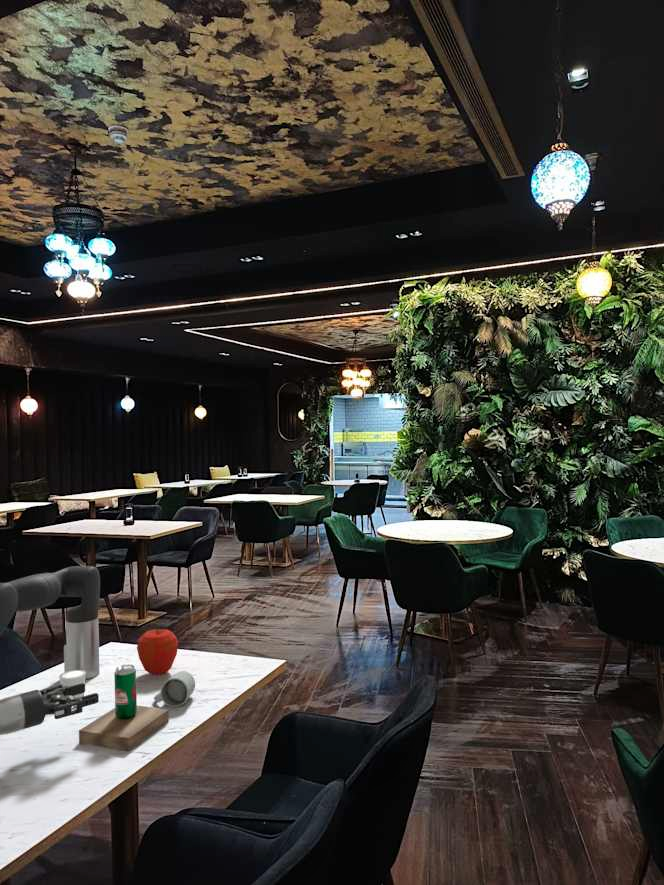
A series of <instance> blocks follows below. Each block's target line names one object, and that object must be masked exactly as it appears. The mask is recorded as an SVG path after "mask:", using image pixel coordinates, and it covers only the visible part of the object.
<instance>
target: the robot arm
mask: <svg viewBox="0 0 664 885" xmlns="http://www.w3.org/2000/svg"><path fill="white" fill-rule="evenodd" d="M100 594H101V575H100V571H99V569H98V567H96V566H92V565H91V566H89V565H88V566H87V565H86V566H83V565H81V566H79V565H76V566H68V567H65V568H62V569H60V570H58V571H55V572H43V573H36V574H32V575H28V576H24V577H21V578H17V579H14V580H11V581H8V582H7V581H6V582H0V637H1V636H2V634H3V633H4V631H5V630H6V628H7V626H8V625H9V623H10V622H11V620H12V619H13V616H14V615H15V613H17V612H28V611H29V612H30V611H34V610H38V609H42V608H46V607H48V606H51V605H52V604H54V603H55V602H56V601H57V600H58V598H60V597H62V598H63V597H65V598H66V597H68V598H69V597H70V598H72V597H73V598H81V604H80V605H78V606H75V607H72V608H69V609H68V610H67V611H66V612H65V613H66V614H65V632H66V633H65V634H66V636H65V637H66V644H64V646H63V665H64V666H63V667H64V672H68V671H72V670H83V671H85V672H86V676H85V680H87V679H91V678H94V677H97V676H98V675H99V674H100V634H99V632H100V629H99V610H100V604H101V603H100V600H101V599H100ZM64 672H63V673H64ZM85 692H86V683H85V684H84V683H81V684H77V685H73V686H69V687H68V686H64V687H63V685H60V684H57V685H55V686H51V687H47V688H43V689H40V690H39V689H34V690H29V691H27V692H23V693H19V694H14V695H11V696H7V697H4V698H1V699H0V736H1V735H8V734H12V733H16V732H19V731H23V730H25V729H30V728H33V727H37V726H39V725H42V723H44V722H45V718H46V716H49V715H54V719H55V720H59V719H62V718H67V717H69V716H74V715H77V714H81V713H83V712H84V711H83V708H84V707H89V706H91V705H95V704H98V703H99V699H100V698H99V694H98V693H97V692H93V693H90V694H86V695H84V696H83V697H72V696H74V695H78V694H81V693H84V694H85ZM68 695H69V696H68ZM74 701H75V702H74Z"/></svg>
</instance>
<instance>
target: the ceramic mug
mask: <svg viewBox="0 0 664 885" xmlns="http://www.w3.org/2000/svg"><path fill="white" fill-rule="evenodd" d="M195 688H196V680H195V678H194V676H193V675H192V674H191V673H190V672H188V671H178V672H175V673H174V674H173V675H172V676H170V677H169V678H168V679H167V680H165V681H164V682H163V684H162V686H161V688H160V692H159V693H157V694H156V695H154V697H153V699H154V702H155V703H157V704H158V703H160V702H163V703H164V704H165V705H166V706H168V707H171V708H178V707H181V706H183V705H184V704H185V703H186V702H187V701H188V699H189V698H190V697H191V695H193V693H194V691H195Z"/></svg>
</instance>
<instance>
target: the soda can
mask: <svg viewBox="0 0 664 885" xmlns="http://www.w3.org/2000/svg"><path fill="white" fill-rule="evenodd" d="M113 676H114V708H115V716H116V717H117V718H119V719H129V718H132V717H133V716H135V714H136V713H137V704H138V702H137V698H138V697H137V670H136V668H135V666H134V665H133V664H122V665H118V666H117V667H116V668H115V671H114V675H113Z"/></svg>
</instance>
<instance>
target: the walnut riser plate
mask: <svg viewBox="0 0 664 885" xmlns="http://www.w3.org/2000/svg"><path fill="white" fill-rule="evenodd" d="M169 717H170V714H169V709H167V708H160V707H152V706H143V705H137V713H136V714H135V716H133V717H132V718H129V719H119V718H117V717H116V716H115V707H114V708H112V709H111V710H109V711H108V712H105V713H104V714H102V715H101V716H99V717H98V718H96V719H95V720H93V721H91V722H90V723H89V724H87V725H85V726H84V727H82V728H80V729H79V730H78V741H79V742H78V743H79V744H82V745H87V746H88V745H89V746H95V747H102V748H106V749H114V750H120V751H125V752H130V751H131V750H133V749H134V748H136V747H137V746H138V745H139V744H141V743H142V742H144V741H145V740H146V739H148V738H149V737H150V736H152V735H153V734H154V733H155V732H157V731H158V730H160V729H161V728H162V727H164V726H165V725H166V724H167V723H169V719H170V718H169Z"/></svg>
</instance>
